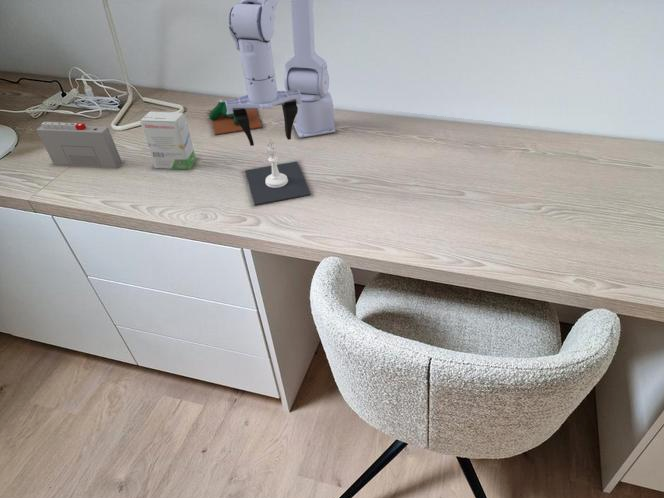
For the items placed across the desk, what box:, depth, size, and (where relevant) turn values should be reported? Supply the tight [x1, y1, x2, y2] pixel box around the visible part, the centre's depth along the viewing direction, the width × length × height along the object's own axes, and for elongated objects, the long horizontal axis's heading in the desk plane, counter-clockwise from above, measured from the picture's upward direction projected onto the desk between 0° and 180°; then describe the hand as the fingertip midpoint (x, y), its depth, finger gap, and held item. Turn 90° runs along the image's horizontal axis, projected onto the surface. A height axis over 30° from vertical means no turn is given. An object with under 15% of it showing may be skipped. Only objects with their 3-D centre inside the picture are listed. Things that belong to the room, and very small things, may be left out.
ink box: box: [139, 110, 197, 170], centre depth 112 cm, size 9×5×12 cm, turn 84°
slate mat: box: [244, 161, 312, 207], centre depth 109 cm, size 12×14×1 cm
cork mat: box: [209, 109, 263, 136], centre depth 131 cm, size 12×14×1 cm
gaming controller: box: [209, 98, 239, 125], centre depth 130 cm, size 9×4×6 cm
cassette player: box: [35, 121, 123, 169], centre depth 113 cm, size 16×3×10 cm, turn 83°
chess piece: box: [266, 139, 288, 188], centre depth 105 cm, size 5×5×10 cm
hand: (270, 140), depth 102 cm, fingers open, 7 cm apart
